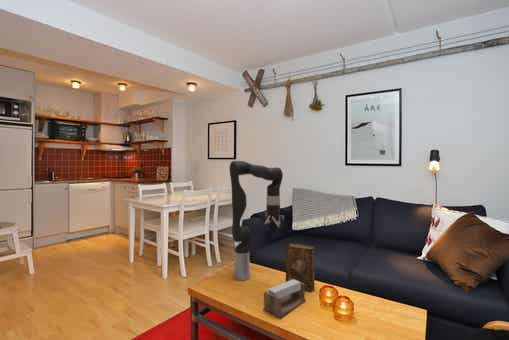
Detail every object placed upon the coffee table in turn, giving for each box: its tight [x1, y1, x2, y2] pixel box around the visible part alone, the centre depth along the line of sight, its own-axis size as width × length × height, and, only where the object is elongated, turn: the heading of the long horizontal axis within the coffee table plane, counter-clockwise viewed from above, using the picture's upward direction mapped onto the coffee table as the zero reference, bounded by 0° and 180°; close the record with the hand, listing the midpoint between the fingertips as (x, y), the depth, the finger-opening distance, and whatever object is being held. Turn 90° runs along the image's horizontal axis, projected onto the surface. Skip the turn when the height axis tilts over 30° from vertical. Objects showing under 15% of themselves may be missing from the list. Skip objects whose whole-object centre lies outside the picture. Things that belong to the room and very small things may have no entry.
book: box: [285, 242, 316, 293], centre depth 158 cm, size 16×6×25 cm, turn 62°
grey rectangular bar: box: [267, 279, 301, 298], centre depth 139 cm, size 5×18×4 cm, turn 126°
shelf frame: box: [263, 278, 306, 320], centre depth 139 cm, size 11×22×10 cm, turn 137°
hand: (273, 232), depth 149 cm, fingers open, 8 cm apart
